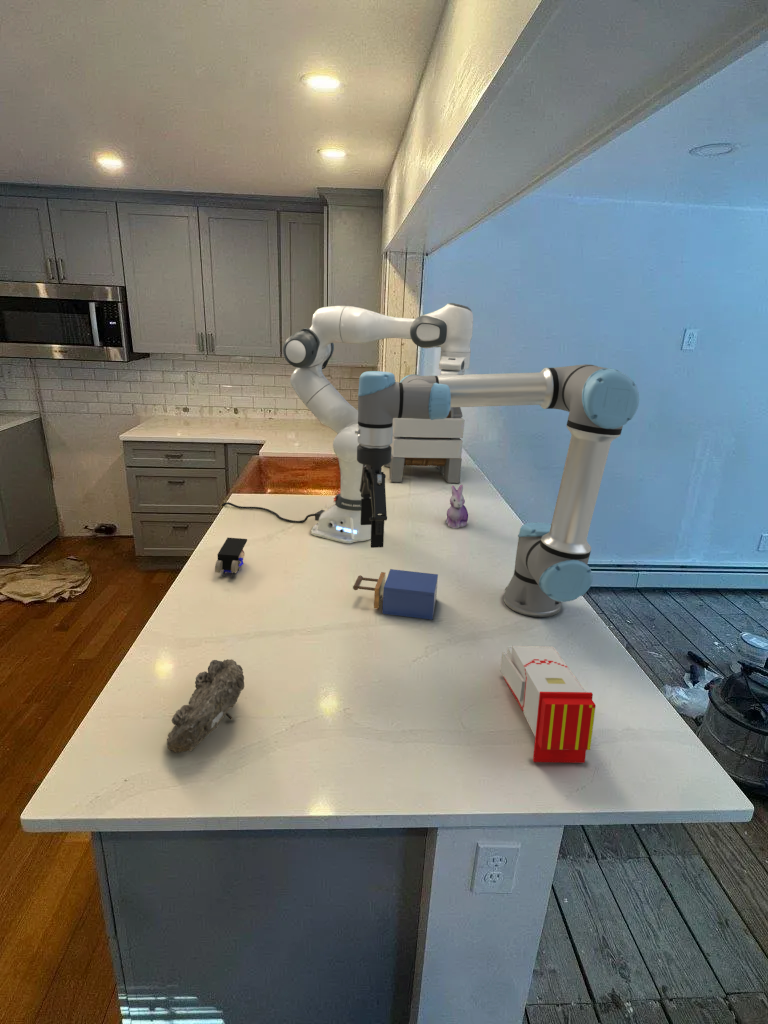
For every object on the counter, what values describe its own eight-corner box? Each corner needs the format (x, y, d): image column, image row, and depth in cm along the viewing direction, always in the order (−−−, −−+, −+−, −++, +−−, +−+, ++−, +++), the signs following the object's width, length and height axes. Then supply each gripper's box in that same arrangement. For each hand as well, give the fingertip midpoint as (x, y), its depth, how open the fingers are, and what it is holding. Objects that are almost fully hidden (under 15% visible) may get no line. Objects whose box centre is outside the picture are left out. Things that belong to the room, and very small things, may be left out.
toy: (549, 628, 125) (605, 700, 96) (544, 683, 128) (596, 770, 99) (495, 627, 125) (534, 699, 95) (491, 683, 128) (527, 769, 98)
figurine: (453, 530, 205) (457, 490, 200) (438, 521, 213) (441, 482, 208) (475, 527, 209) (479, 488, 204) (459, 517, 217) (462, 480, 212)
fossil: (192, 660, 117) (244, 628, 112) (224, 691, 120) (276, 661, 115) (142, 746, 98) (202, 712, 93) (182, 779, 101) (242, 748, 96)
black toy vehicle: (238, 584, 162) (249, 557, 175) (236, 562, 158) (247, 536, 172) (215, 584, 161) (227, 556, 175) (212, 561, 158) (225, 535, 171)
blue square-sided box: (382, 613, 147) (383, 587, 145) (389, 594, 158) (390, 568, 155) (432, 619, 145) (434, 592, 143) (436, 599, 156) (438, 574, 153)
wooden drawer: (351, 605, 149) (351, 585, 147) (358, 588, 158) (359, 569, 156) (419, 613, 146) (420, 593, 144) (423, 596, 155) (424, 576, 153)
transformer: (382, 463, 289) (386, 382, 275) (445, 464, 293) (451, 384, 279) (390, 482, 257) (394, 392, 243) (460, 483, 261) (468, 394, 247)
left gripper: (450, 358, 179) (446, 402, 183) (438, 363, 160) (434, 412, 165) (470, 359, 177) (466, 404, 182) (460, 365, 159) (455, 414, 163)
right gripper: (349, 432, 134) (347, 516, 141) (367, 459, 111) (364, 558, 118) (380, 432, 135) (377, 515, 143) (404, 459, 113) (399, 556, 120)
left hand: (450, 408), depth 173 cm, fingers open, 8 cm apart
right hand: (371, 535), depth 130 cm, fingers open, 13 cm apart
